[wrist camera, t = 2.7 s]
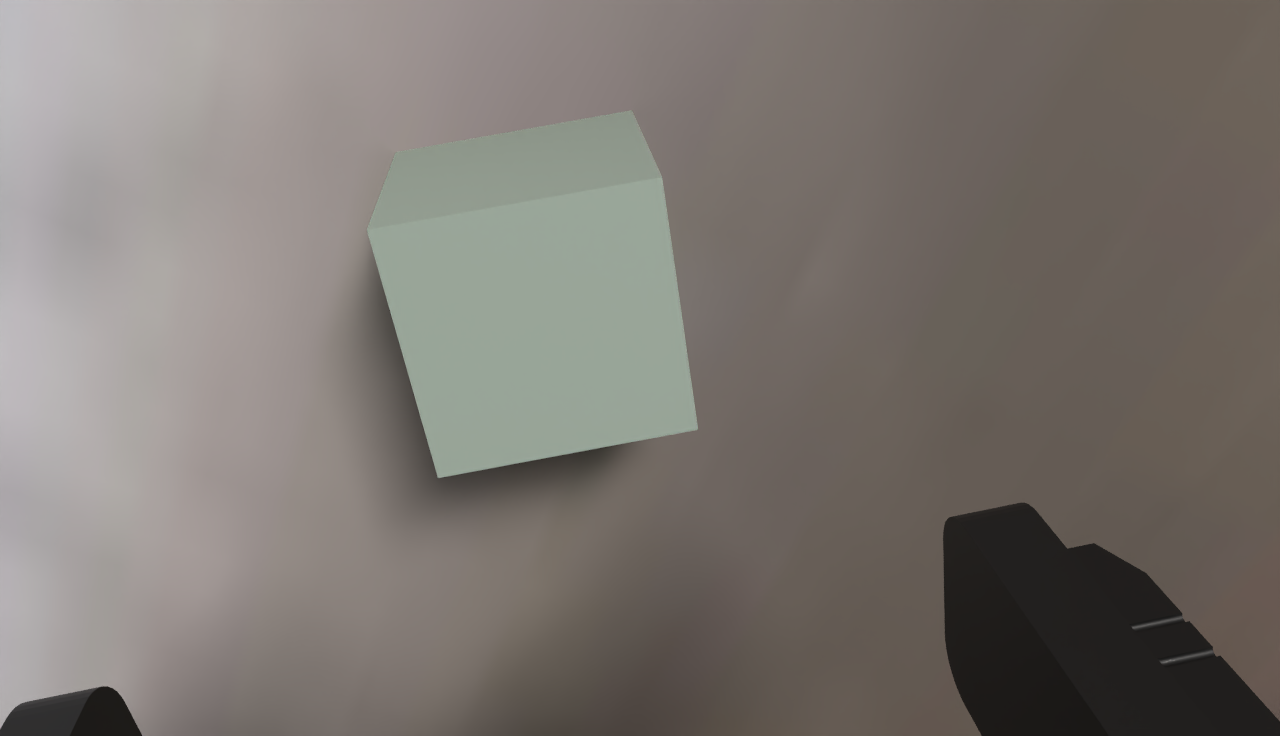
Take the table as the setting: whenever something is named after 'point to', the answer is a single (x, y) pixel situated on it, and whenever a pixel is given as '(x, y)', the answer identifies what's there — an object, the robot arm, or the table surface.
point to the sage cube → (534, 293)
